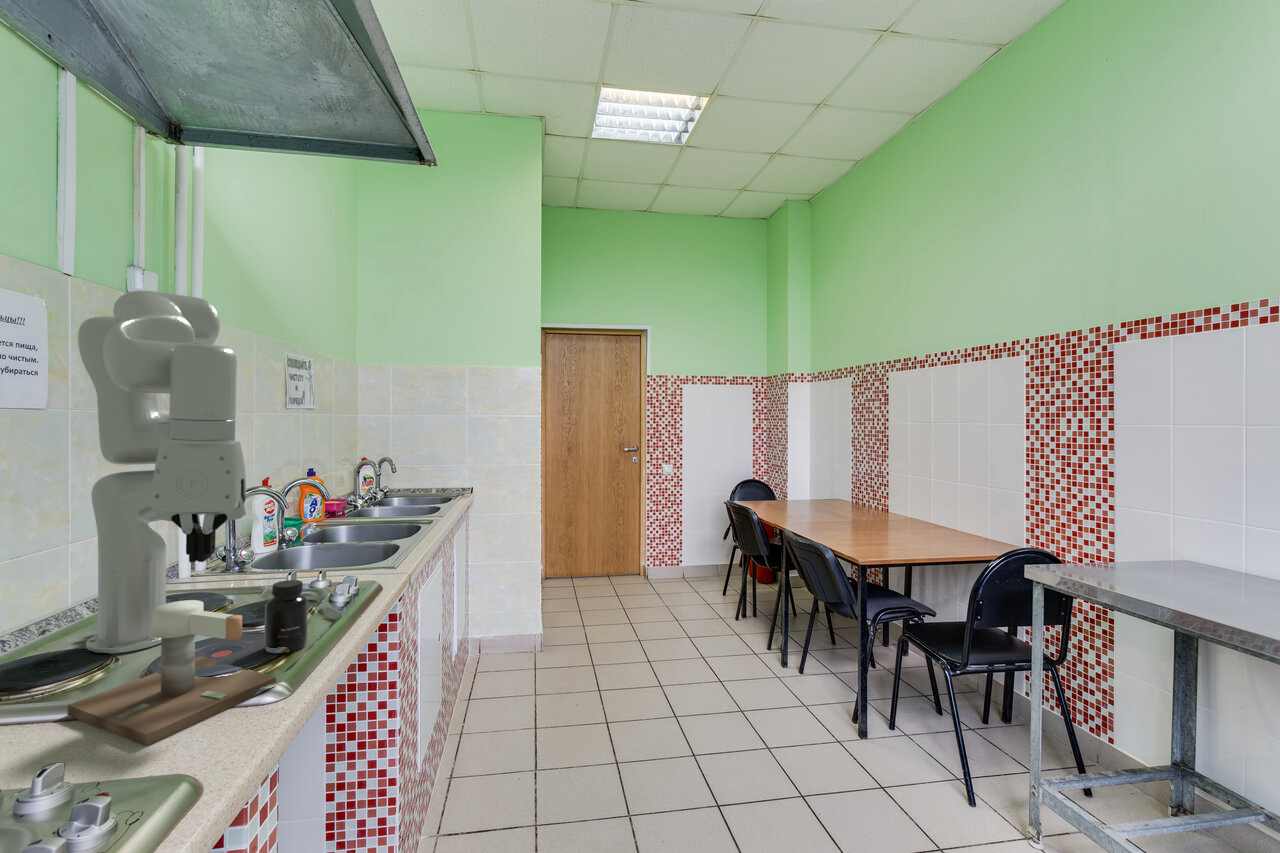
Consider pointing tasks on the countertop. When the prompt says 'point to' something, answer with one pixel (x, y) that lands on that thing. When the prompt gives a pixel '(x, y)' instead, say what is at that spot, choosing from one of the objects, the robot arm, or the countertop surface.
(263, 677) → the base
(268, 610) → the supplement bottle
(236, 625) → the cream orange-tipped lever
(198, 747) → the countertop surface
